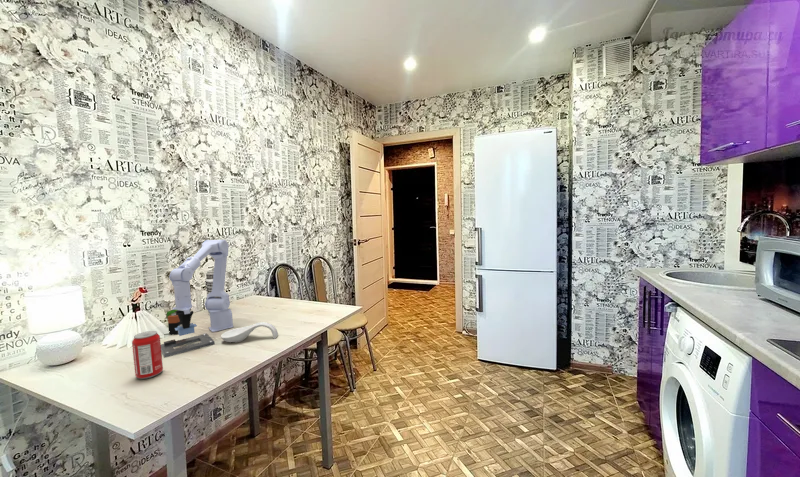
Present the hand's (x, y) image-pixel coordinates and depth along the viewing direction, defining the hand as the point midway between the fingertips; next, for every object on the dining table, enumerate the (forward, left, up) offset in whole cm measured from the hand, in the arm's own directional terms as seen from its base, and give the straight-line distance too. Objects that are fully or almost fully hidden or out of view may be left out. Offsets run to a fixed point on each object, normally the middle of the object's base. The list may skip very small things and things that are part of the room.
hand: (185, 327), depth 143 cm
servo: (0, 0, -3) cm, 3 cm away
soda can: (+15, +21, -9) cm, 27 cm away
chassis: (0, 0, -8) cm, 8 cm away
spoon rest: (-22, +12, -9) cm, 27 cm away
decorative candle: (-22, -44, -9) cm, 50 cm away
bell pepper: (-2, -37, -9) cm, 38 cm away
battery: (0, -24, -9) cm, 25 cm away
